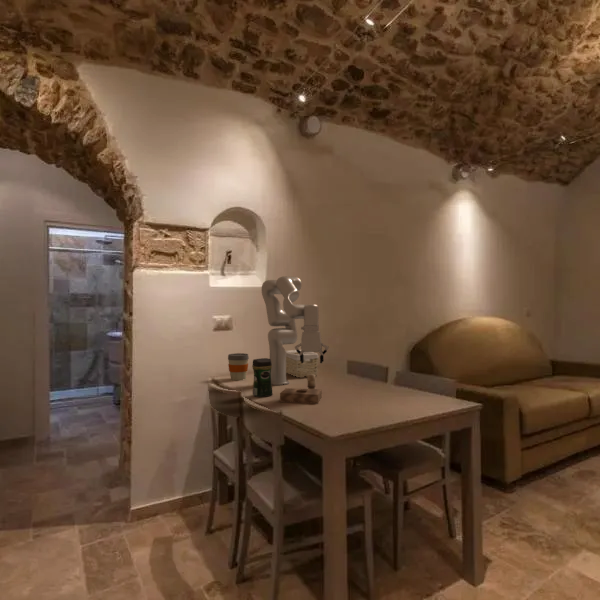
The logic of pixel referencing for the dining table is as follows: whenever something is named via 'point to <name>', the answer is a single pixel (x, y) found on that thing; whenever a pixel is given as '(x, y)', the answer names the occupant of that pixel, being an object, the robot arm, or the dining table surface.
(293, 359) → the storage basket
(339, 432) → the dining table surface
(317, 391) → the board
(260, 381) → the coffee jar
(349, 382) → the dining table surface
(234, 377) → the reusable coffee cup
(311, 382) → the peg
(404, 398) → the dining table surface
